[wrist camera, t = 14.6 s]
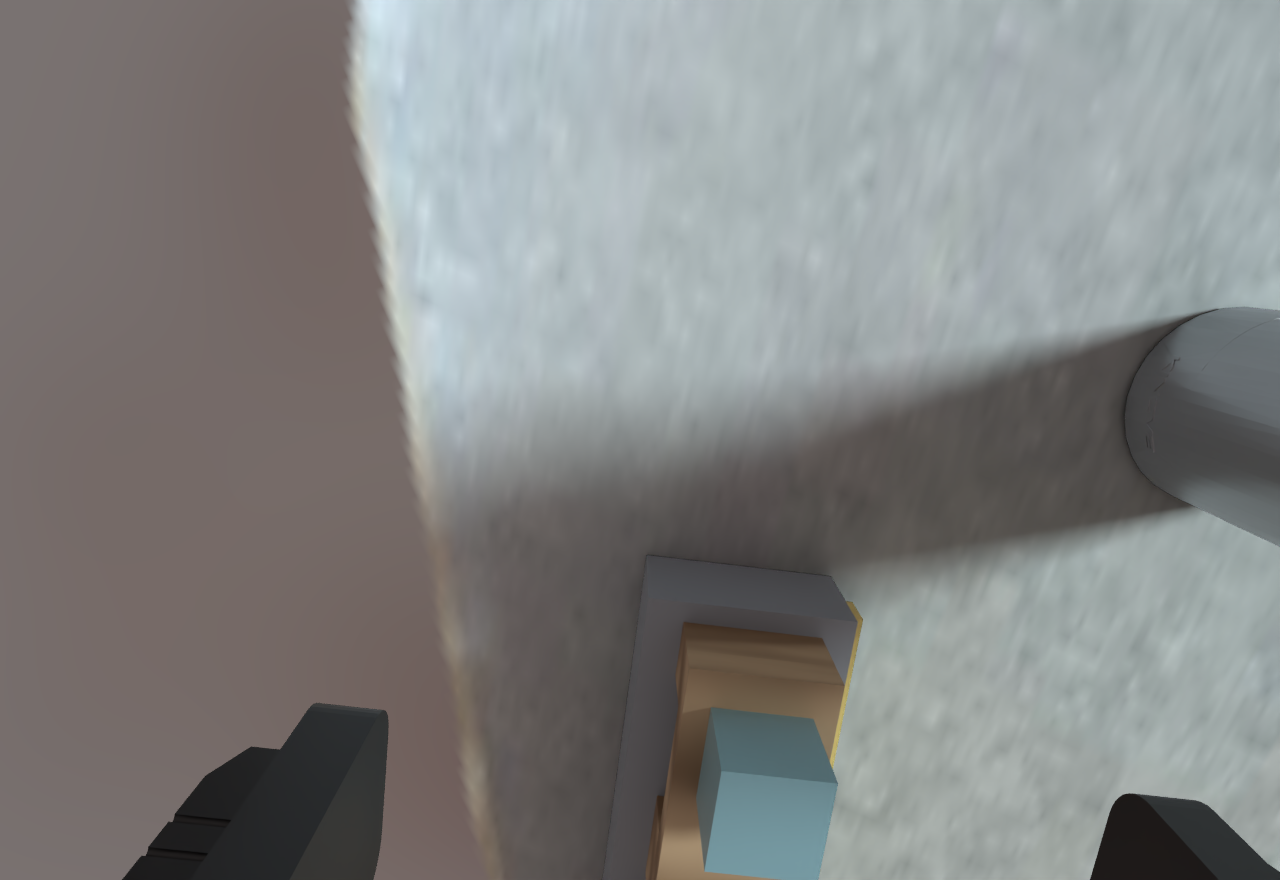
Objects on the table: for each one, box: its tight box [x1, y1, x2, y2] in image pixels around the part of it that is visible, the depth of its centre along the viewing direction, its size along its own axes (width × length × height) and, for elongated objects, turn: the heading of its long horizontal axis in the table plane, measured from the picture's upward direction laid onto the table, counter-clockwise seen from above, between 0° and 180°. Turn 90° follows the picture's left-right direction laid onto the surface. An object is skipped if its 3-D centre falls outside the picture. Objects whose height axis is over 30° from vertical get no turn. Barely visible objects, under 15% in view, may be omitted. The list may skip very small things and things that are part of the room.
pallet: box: [645, 622, 845, 880], centre depth 36 cm, size 21×6×4 cm, turn 173°
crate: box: [696, 707, 838, 880], centre depth 31 cm, size 4×4×4 cm
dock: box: [602, 555, 863, 880], centre depth 41 cm, size 9×23×5 cm, turn 173°
